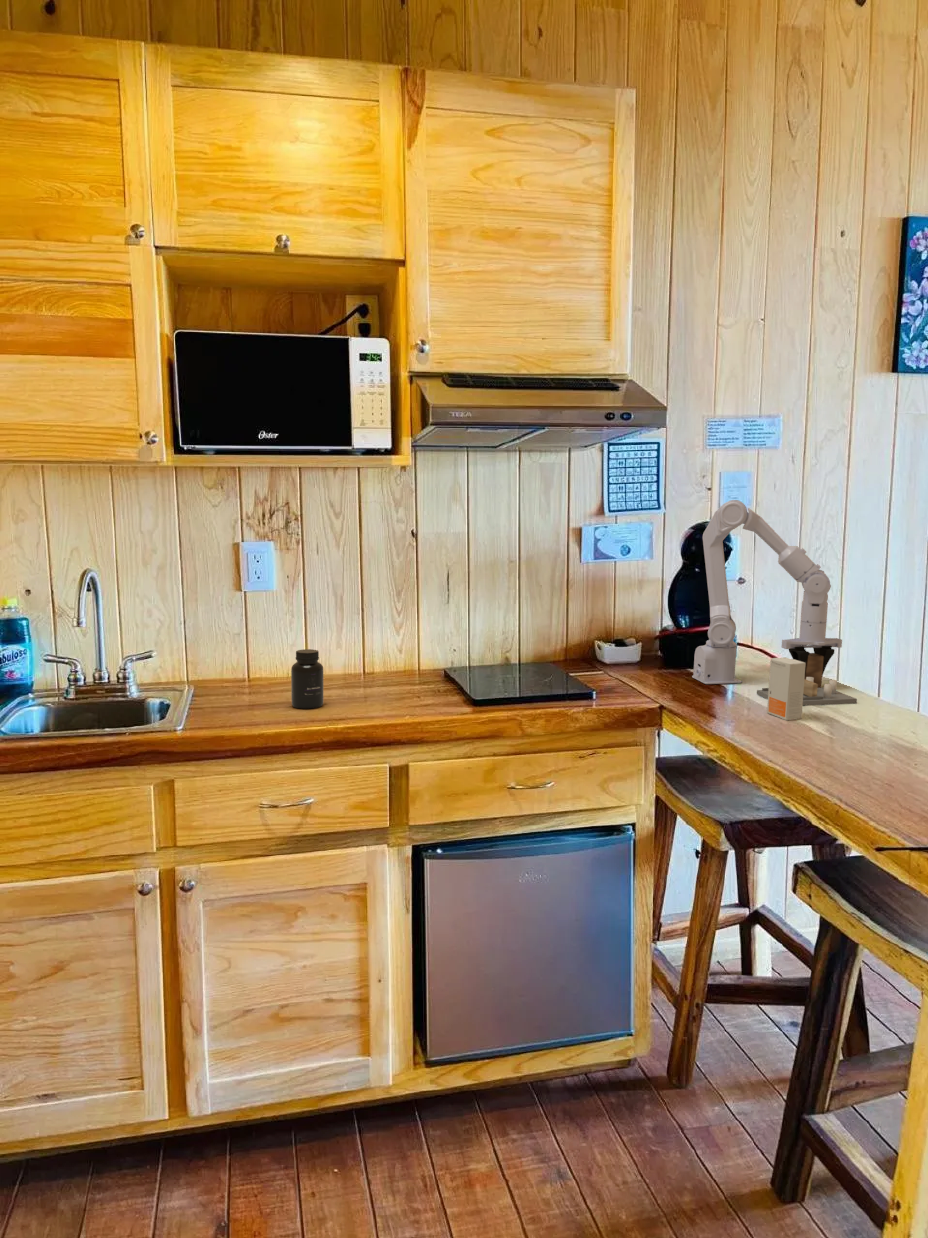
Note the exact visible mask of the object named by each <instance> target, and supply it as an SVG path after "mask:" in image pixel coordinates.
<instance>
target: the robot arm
mask: <svg viewBox="0 0 928 1238" xmlns="http://www.w3.org/2000/svg"><path fill="white" fill-rule="evenodd" d="M741 525H742V529H743V530H746V531H750V532H753V533H755V534H756V535H757V536H758V537H759V538H760V539H761V540H763V542H764V543H765V544H766V545H767V546H769V548H771V549H772V550H773V551H774V552H775V553H776V554H777V555H778V561H777V562H778V564H779V565H780V566H781V567H782V568H783V570H784V571H786V572H787V573H788V574H789V575H790V576H791V578H793V579H794V580H795V581H796V582H798V583H801V586H802V589H803V596H802V598H803V599H802V601H801V611H800V624H799V637H798V638H797V637H796V638H789V639H788V638H787V639H782V640H781V648H782V649H784V650H788V652H789V654H790V656H791V659H795V660H798V661H801V662H805V663H806V662H807V658H808V655H809V653H810V652H809V651H807V650H806V649H811V648H812V649H813V653H816V654H819V655H822V656H824V659H823V672H822V677H823V676H824V674H825V670H826V667H827V666H828V663H829V662H830V660H831V659H832V657H833V656H834V654H835V649H834V648H840V649H841V648H842V647H843V639H841V638H837V637H836V638H835V637H833V638H831V637H826V635H827V634H826V633H827V622H828V621H827V620H828V610H829V609H828V605H829V602H828V600H829V594H828V593H829V592H830V590H831V588H832V585H831V581H830V578H829V577H828V575H827V574H826V573H825V571H824V570H822V568H821V567H822V566H821V565H819V563H817V564H816V563H815V562H814V561H813V560H812V559H811V558H810V557H809V556H808V555H807V554H806V553H807V550H805V548H803V547H801V548H800V547H799V546H796V545H788V544H787V543H786V541H785V540H784V539H783V538H782V537H781V536H780V535H779V534H778V533H777V532H776V531H775V530H774V529H773V528H772V527H771V526H770V525H769V523H767V521H765V519H764V518H763V517H761V516H760V515H759V514H758V513H756V512H755V511H753V510H752V509H751V508H749V507H747V506H746V504H745V503H744V502H742V501H741V500H737V499H732V500H731V499H730V500H728V501H726V502H724V503H723V504H722V505H721V506H719V508H718V509H716V511H715V512H714V513H713V516H712V517H711V519H710V521H709V522H708V524H707V526H706V528H705V530H704V531H703V534H702V545H703V555H704V563H705V573H706V583H707V591H708V601H709V602H708V603H709V618H710V619H709V620H710V624H709V627H708V631H707V637H708V640H706V641H705V644H704V645H699V646H697V647H696V648H695V651H694V655H693V657H694V660H693V675H691V677H692V678H693V679H695V680H697V681H698V682H701V683H703V684H705V685H719V684H724V685H725V684H742V680H740V679H738V678H736V677H735V675H736V661H737V646H738V645H737V642H735V641H734V639H735V637H736V631H737V626H736V623H735V621H734V619H733V618H732V615H731V614H732V613H731V609H730V608H731V607H730V601H729V600H730V599H729V591H728V583H727V582H728V580H727V573H726V571H727V570H726V563H725V553H724V543H723V541H724V540H725V539H726V537H727V536H729V534H730V533H731V532H732V531H733V530H735V529H736V528H738V527H740V526H741ZM805 670H806V665H805Z"/></svg>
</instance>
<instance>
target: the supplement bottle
mask: <svg viewBox="0 0 928 1238" xmlns="http://www.w3.org/2000/svg"><path fill="white" fill-rule="evenodd" d="M318 660H320V657H319V650H317V649H310V648H307V649H306V648H305V649H298V650H296V651H295V661H296V662H295V663H293V664H292V666H291V669H290V670H291V673H290V674H291V675H290V676H291V679H290V680H291V683H290V684H291V687H290V688H291V693H290V694H291V705H292V706H293V707H294V708H296V709H303V710H311V709H318V708H321V707H322V706H323V705H324V666H323V664H322V663H321V662H319V661H318Z"/></svg>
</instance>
